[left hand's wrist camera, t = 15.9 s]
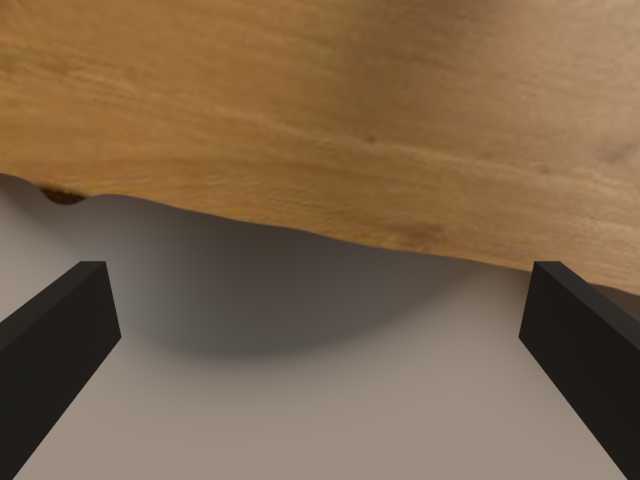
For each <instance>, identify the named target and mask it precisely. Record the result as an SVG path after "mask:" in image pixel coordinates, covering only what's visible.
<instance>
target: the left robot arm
mask: <svg viewBox="0 0 640 480" xmlns="http://www.w3.org/2000/svg"><path fill="white" fill-rule="evenodd" d="M120 339H121V333H120V328H119V323H118V318H117V314H116V309H115V304H114V299H113V295H112V290H111V285H110V280H109V276H108V271H107V266H106V262H105V261H80V262H79V263H78V264H76V265H75V266H74V267H72V268H71V269H70V270H68V271H67V272H66V273H65V274H63V275H62V276H61V277H59V278H58V279H57V280H55V281H54V282H53V283H51V284H50V285H49V286H48V287H46V288H45V289H44V290H42V291H41V292H40V293H38V294H37V295H36V296H34V297H33V298H32V299H31V300H29V301H28V302H27V303H25V304H24V305H23V306H21V307H20V308H19V309H17V310H16V311H15V312H14V313H12V314H11V315H10V316H8V317H7V318H6V319H4V320H3V321H2V322H0V480H13V478H14V477H15V476H16V474H17V473H18V472H19V470H20V469H21V468H22V467H23V465H24V464H25V463H26V461H27V460H28V459H29V457H30V456H31V455H32V453H33V452H34V451H35V450H36V448H37V447H38V446H39V444H40V443H41V442H42V440H43V439H44V438H45V437H46V435H47V434H48V433H49V431H50V430H51V429H52V427H53V426H54V425H55V423H56V422H57V421H58V420H59V418H60V417H61V416H62V414H63V413H64V412H65V410H66V409H67V408H68V407H69V405H70V404H71V403H72V401H73V400H74V399H75V397H76V396H77V395H78V393H79V392H80V391H81V390H82V388H83V387H84V386H85V384H86V383H87V382H88V380H89V379H90V378H91V376H92V375H93V374H94V373H95V371H96V370H97V369H98V367H99V366H100V365H101V363H102V362H103V361H104V359H105V358H106V357H107V356H108V354H109V353H110V352H111V350H112V349H113V348H114V346H115V345H116V344H117V343H118V341H119V340H120ZM519 339H520V340H521V341H522V343H523V344H524V345H525V346H526V348H527V349H528V350H529V352H530V353H531V354H532V356H533V357H534V358H535V360H536V361H537V362H538V363H539V365H540V366H541V367H542V369H543V370H544V371H545V373H546V374H547V375H548V376H549V378H550V379H551V380H552V382H553V383H554V384H555V386H556V387H557V388H558V389H559V391H560V392H561V393H562V395H563V396H564V397H565V399H566V400H567V401H568V403H569V404H570V405H571V407H572V408H573V409H574V410H575V412H576V413H577V414H578V416H579V417H580V418H581V419H582V421H583V422H584V423H585V425H586V426H587V427H588V429H589V430H590V431H591V433H592V434H593V435H594V436H595V438H596V439H597V440H598V442H599V443H600V444H601V446H602V447H603V448H604V450H605V451H606V452H607V453H608V455H609V456H610V457H611V459H612V460H613V461H614V463H615V464H616V465H617V466H618V468H619V469H620V470H621V472H622V473H623V474H624V476H625V477H626V478H627V480H640V322H638V321H637V320H636V319H634V318H633V317H632V316H630V315H629V314H628V313H626V312H625V311H624V310H623V309H621V308H620V307H619V306H617V305H616V304H615V303H613V302H612V301H611V300H609V299H608V298H607V297H605V296H604V295H603V294H602V293H600V292H599V291H598V290H596V289H595V288H594V287H592V286H591V285H590V284H589V283H587V282H586V281H585V280H583V279H582V278H581V277H579V276H578V275H577V274H575V273H574V272H573V271H572V270H570V269H569V268H568V267H566V266H565V265H564V264H562V263H561V262H560V261H534V266H533V271H532V276H531V280H530V285H529V290H528V295H527V299H526V304H525V309H524V314H523V318H522V323H521V328H520V333H519Z"/></svg>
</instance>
